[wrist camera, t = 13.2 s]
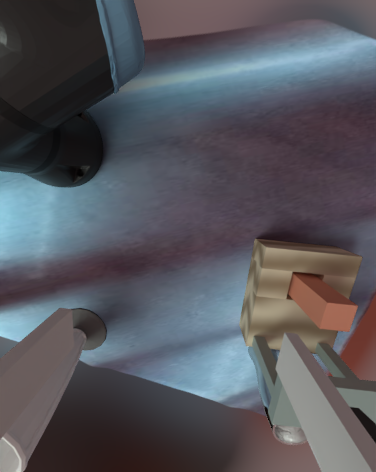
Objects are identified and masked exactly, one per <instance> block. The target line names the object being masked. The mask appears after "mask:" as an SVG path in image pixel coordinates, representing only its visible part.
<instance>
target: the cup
mask: <svg viewBox="0 0 376 472" xmlns="http://www.w3.org/2000/svg"><path fill="white" fill-rule="evenodd" d="M72 319H73V335H74V347H73V348H72V350H71V351H70V352H69V353H68V355H67V356H66V357H65V358H64V360H63V361H62V362H61V364H60V365H59V366H58V367H57V369H56V370H55V371H54V372H53V374H52V375H51V376H50V377H49V379H48V380H47V381H46V383H45V384H44V385H43V386H42V388H41V389H40V390H39V391H38V393H37V394H36V395H35V396H34V398H33V399H32V400H31V402H30V403H29V404H28V405H27V407H26V408H25V409H24V410H23V412H22V413H21V414H20V415H19V417H18V418H17V419H16V421H15V422H14V423H13V424H12V426H11V427H10V428H9V429H8V431H7V432H6V433H5V435H4V436H3V437H2V438H1V440H0V472H23V471H24V470H25V468H26V466H27V461H28V460H29V458H30V456H31V454H32V452H33V451H34V449H35V447H36V445H37V443H38V441H39V440H40V438H41V436H42V434H43V432H44V430H45V428H46V426H47V425H48V423H49V421H50V419H51V417H52V415H53V413H54V411H55V409H56V407H57V405H58V403H59V401H60V399H61V397H62V395H63V393H64V391H65V389H66V387H67V385H68V383H69V381H70V378H71V376H72V374H73V372H74V369H75V367H76V365H77V363H78V360H79V358H80V355H81V353H82V350H93V349H95V348H97V347H99V346H101V344H102V343H103V342H104V340H105V338H106V328H105V325H104V323H103V321H102V320H101V319H100V318H99V316H98V315H96V314H94V313H93V312H91V311H89V310H85V309H72Z"/></svg>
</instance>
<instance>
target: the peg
mask: <svg viewBox="0 0 376 472" xmlns="http://www.w3.org/2000/svg"><path fill="white" fill-rule="evenodd" d="M288 294H289V295H290V297H291V298H292V299H293V300H294V301H295V302H296V303H297V304H298V305H299V307H300V308H301V309H302V310H303V311H304V312H305V313H306V314H307V315H308V317H309V318H310V319H311V320H312V321H313V322H314V323H315V324H316V325H317V327H318V328H319V329H327V330H337V331H346V332H349V331H350V328H351V325H352V322H353V319H354V316H355V313H356V311H357V308H358V306H357V305H356V304H355V303H353V302H352V301H350V300H349V299H348V298H346V297H345V296H343V295H342V294H340V293H339V292H338V291H336V290H335V289H333V288H332V287H331V286H329V285H328V284H326V283H325V282H323V281H322V280H321V279H319V278H318V277H316V276H315V275H314V274H312V273H303V272H293V273H292V277H291V281H290V285H289V289H288Z"/></svg>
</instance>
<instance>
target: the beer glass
mask: <svg viewBox="0 0 376 472" xmlns="http://www.w3.org/2000/svg"><path fill="white" fill-rule="evenodd" d="M270 350H271V352H272V354H273V356H274V358H275V360H276V363H277V361H278V356H277V353H276V350H275V349H270ZM248 353H249V356H250V358H251V359H252V361H253V363H254V365H255V369H256V374H257V381H258V388H259V393H260V397H261V401H262V404H263V407H264V410H265V413H266V416H267V418H268V421H269V424H270V426H271V428H272V431H273V435H274V436H275V438H276V439H277V440H278V441H280V442H282V443H284V444H288V445H300V444H303V443H306V442H308V440H307V438H306V436H305V434H304V431H303V429H302V428H299V427H291V426H282V425H274V424H272V423H271V420H270V417H269V414H268V409H269V405H270V401H271V395H270V392H269V389H268V387H267V384H266V381H265V379H264V376H263V373H262V370H261V368H260V365H259V362H258V359H257V357H256V354H255V351H254V349H253V347H250V346H249V347H248Z"/></svg>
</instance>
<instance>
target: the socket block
mask: <svg viewBox="0 0 376 472" xmlns="http://www.w3.org/2000/svg"><path fill="white" fill-rule="evenodd" d="M362 258H363V257H361V256H359V255H356V254H354V253H351V252H349V251H346V250H344V249H341V248H338V247H335V246H325V245H315V244H305V243H295V242H285V241H275V240H264V239H255V242H254V247H253V253H252V258H251V264H250V269H249V274H248V280H247V285H246V291H245V296H244V302H243V307H242V313H241V318H240V324H239V325H240V328H241V331H242V334H243V337H244V340H245V343H246V346H250V347H253V346H252V342H253V337H254V336H261V337H265V339H266V341H267V343H268V346H269V348H270V349H277V350H280V349H281V345H282V341H283V337H284V333H285V332H286V333H295V334H298V335H299V337H300V338H301V340H302V341H303V342H304V344H305V345H306V347H307V348H308V349H309V351H310V352H311V353H314V354H316V352H315V349H316V346H317V343H325V344H329V345H330V346H331V348H333V345H334V342H335V339H336V336H337V333H338V331H337V330H327V329H319V328H318V327H317V325H316V324H315V323H314V322H313V321H312V320H311V319H310V318H309V317H308V315H307V314H306V313H305V312H304V311H303V310H302V309H301V308H300V307H299V305H298V304H297V303H296V302H295V301H294V300H293V299H292V298H291V297H290V295H289V294H288V289H289V285H290V281H291V277H292V273H293V272H303V273H312V274H314V275H315V276H316V277H318V278H319V279H321V280H322V281H323V282H325V283H326V284H328V285H329V286H331V287H332V288H333V289H335V290H336V291H338V292H339V293H340V294H342V295H343V296H345V297H346V298H348V299H349V297H350V294H351V291H352V288H353V285H354V282H355V279H356V276H357V273H358V270H359V267H360V264H361V261H362Z"/></svg>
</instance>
